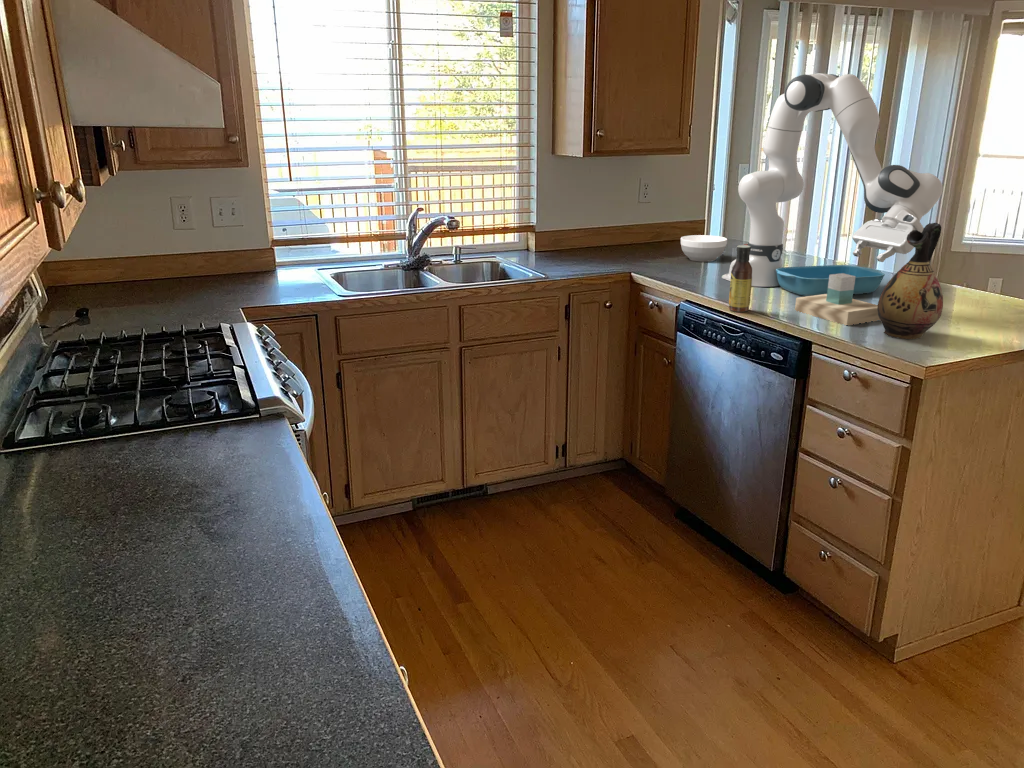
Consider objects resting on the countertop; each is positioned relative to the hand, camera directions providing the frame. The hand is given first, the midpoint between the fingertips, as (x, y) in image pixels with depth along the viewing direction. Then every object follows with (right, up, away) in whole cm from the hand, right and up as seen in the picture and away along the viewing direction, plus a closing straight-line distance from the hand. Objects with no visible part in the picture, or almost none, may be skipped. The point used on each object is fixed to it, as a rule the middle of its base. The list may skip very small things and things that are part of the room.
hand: (866, 257), depth 222 cm
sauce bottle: (-35, -15, +10) cm, 39 cm away
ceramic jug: (+2, -24, -18) cm, 30 cm away
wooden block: (-8, -17, +3) cm, 19 cm away
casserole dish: (+3, -6, +36) cm, 36 cm away
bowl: (-25, +15, +94) cm, 98 cm away
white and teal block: (-8, -13, +2) cm, 15 cm away
